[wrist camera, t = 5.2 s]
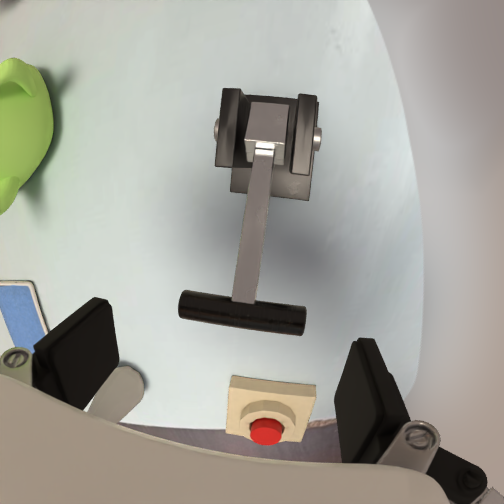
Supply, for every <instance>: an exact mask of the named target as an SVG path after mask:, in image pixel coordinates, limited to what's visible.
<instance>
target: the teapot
mask: <svg viewBox="0 0 504 504" xmlns="http://www.w3.org/2000/svg"><path fill="white" fill-rule="evenodd" d="M53 125H54V124H53V113H52V106H51V101H50V97H49V93H48V90H47V87H46V85H45V82H44V80H43V78H42V76H41V74H40V72H39V71H38V70H37V69H36V68H35V67H34V66H32V65H29V64H26V63H24V62H23V61H22V60H20V59H17V58H10V59H7V60H5V61H4V62H2V63H1V64H0V215H1V214H3V213H4V212H5V211H6V210H7V209H8V208H9V207H10V206H11V204H12V203H13V201H14V200H15V197H16V195H17V192H18V189H19V188H20V187H21V186H22V185H23V184H24V183H25V182H26V181H27V180H28V179H29V177H30V176H31V175H32V174H33V172H34V171H35V170H36V168H37V167H38V165H39V164H40V163H41V161H42V159H43V158H44V156H45V154H46V152H47V150H48V148H49V146H50V143H51V140H52V136H53Z"/></svg>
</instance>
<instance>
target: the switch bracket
mask: <svg viewBox="0 0 504 504" xmlns="http://www.w3.org/2000/svg"><path fill="white" fill-rule="evenodd" d="M251 102H261V103H273V104H284V105H289V106H290V109H289V122H288V133H287V143H286V152H285V161H284V165H276V164H274V169H273V177H272V184H271V192H270V196H273V197H281V198H290V199H298V200H305V201H309V195H310V187H311V178H312V169H313V160H314V151H319V149H320V144H321V135H322V130H321V128H318V127H317V119H318V107H319V102H317V96H315V95H308V94H298V99H293V98H283V97H272V96H260V95H244V94H243V92H242V90H241V89H238V88H223V90H222V98H221V107H220V116H219V119H217V120H216V122H215V126H214V138H215V141H217V146H216V157H215V167H226V168H232V174H231V186H230V192H235V193H245V194H247V193H248V187H249V181H250V175H251V168H252V162H248V161H247V158H246V151H245V144H244V136H245V131H246V126H247V120H248V115H249V110H250V105H251Z"/></svg>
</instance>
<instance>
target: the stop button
mask: <svg viewBox="0 0 504 504" xmlns="http://www.w3.org/2000/svg"><path fill="white" fill-rule="evenodd" d="M250 437H251V439H252V440H253V441H254V442H256V443H258V444H261V445H273V444H276V443H278V442H279V441H280V440H281V438H282V424H281V423H280V422H279V421H278V420H276V419H274V418H265V417H264V418H259V419H256V420H255V421H254V422H253V423H252V426H251V432H250Z"/></svg>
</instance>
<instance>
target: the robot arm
mask: <svg viewBox="0 0 504 504" xmlns="http://www.w3.org/2000/svg"><path fill="white" fill-rule="evenodd" d="M33 348H34V351H35V352H34V353H33V354H32V353H31V352H30V350H28V349H27V348H24V347H15V348H11V349H9V350H7V351H6V352H4V353H3V354H2V356H1V358H0V504H504V497H503V496H502V495H501V494H500V493H499V492H498V491H496V490H495V489H494V488H493V487H492V488H490V489H488V488H487V477H486V474H485V473H484V471H483V470H482V469H481V468H479V467H478V466H476V465H474V464H472V463H470V462H468V461H466V460H464V459H462V458H460V457H458V456H456V455H454V454H452V453H450V452H448V451H446V450H444V449H443V448H441V447H439V445H440V435H439V433H438V431H437V430H436V428H435V427H434V426H432V425H431V424H429V423H427V422H424V421H418V420H415V421H411V420H410V417H409V415H408V412H407V409H406V407H405V404H404V402H403V399H402V397H401V394H400V392H399V389H398V387H397V384H396V382H395V380H394V377H393V375H392V374H391V373H389V372H388V370H387V367H386V365H385V362H384V360H383V358H382V355H381V353H380V351H379V348H378V346H377V344H376V342H375V340H374V339H373V338H358V340H357V341H353V343H352V345H351V348H350V351H349V355H348V358H347V361H346V364H345V367H344V370H343V373H342V376H341V379H340V382H339V384H338V387H337V390H336V393H335V397H334V404H335V411H336V418H337V426H338V433H339V441H340V449H341V458H342V463H315V462H298V461H285V460H273V459H264V458H256V457H248V456H241V455H235V454H229V453H223V452H218V451H213V450H208V449H203V448H198V447H194V446H189V445H185V444H181V443H177V442H173V441H169V440H166V439H162V438H158V437H155V436H151V435H148V434H145V433H142V432H139V431H135V430H132V429H129V428H127V427H124V426H121V425H118V424H115V423H112V422H110V421H107V420H104V419H102V418H99V417H97V416H94V415H92V414H89V413H87V412H85V411H83V410H84V409H85V407H86V406H87V405H88V403H89V402H90V401H91V399H92V398H93V397H94V395H95V394H96V393H97V392H98V390H99V389H100V388H101V386H102V385H103V384H104V382H105V381H106V380H107V379H108V377H109V376H110V375H111V373H112V372H113V371H114V370H115V368H116V367H117V366H118V364H119V352H118V346H117V340H116V334H115V327H114V320H113V312H112V306H111V305H110V304H109V302H108V301H107V300H106V299H101V298H97V297H94V298H92V299H91V300H89V301H88V302H87V303H85V304H84V305H83V306H82V307H80V308H79V309H78V310H76V311H75V312H74V313H73V314H71V315H70V316H69V317H68V318H66V319H65V320H64V321H63V322H61V323H60V324H59V325H58V326H56V327H55V328H54V329H53V330H51V331H50V332H49V333H48V334H46V335H45V336H44V337H43V338H42V339H40V340H39V341H38V342H37V343H36V344H34V345H33Z"/></svg>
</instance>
